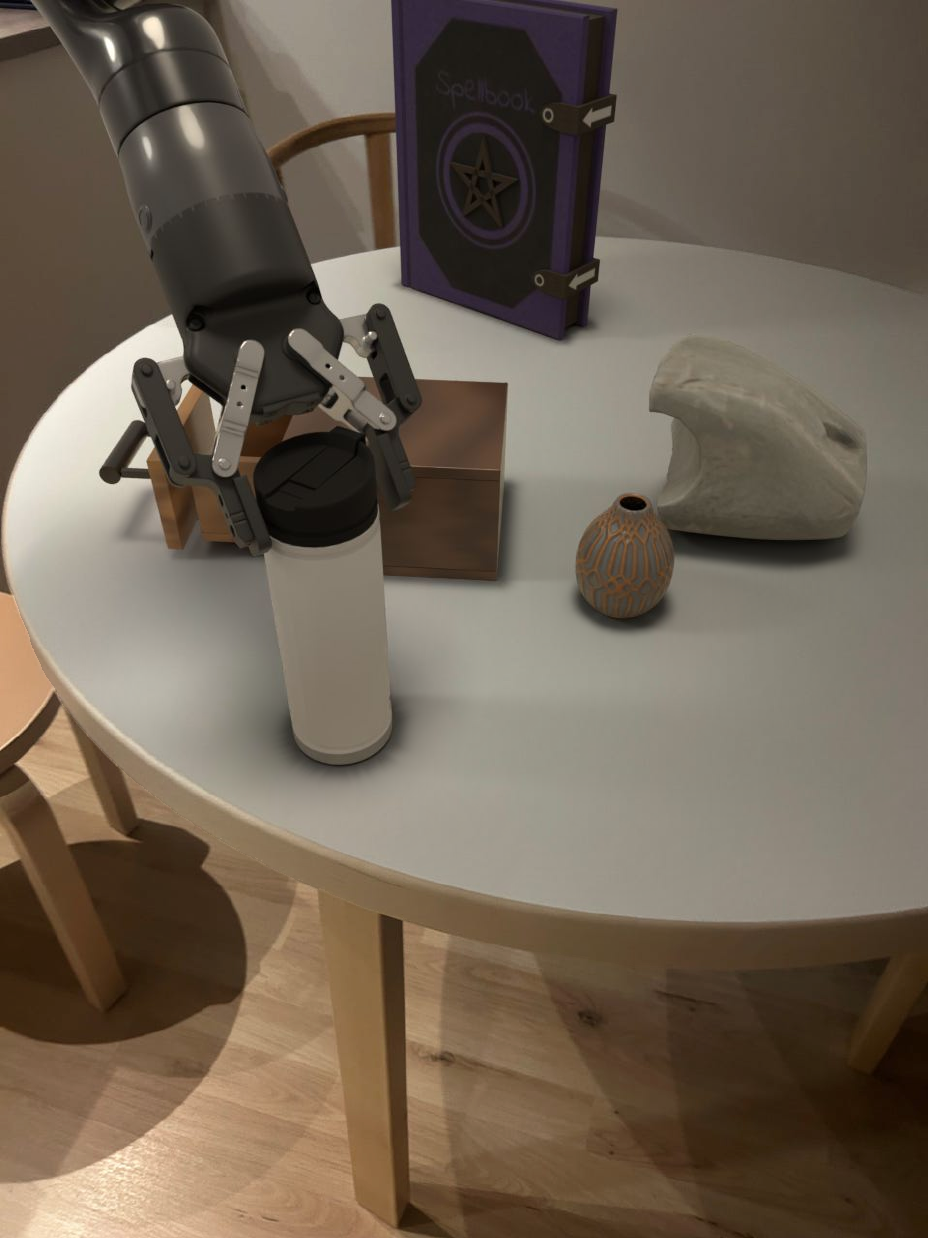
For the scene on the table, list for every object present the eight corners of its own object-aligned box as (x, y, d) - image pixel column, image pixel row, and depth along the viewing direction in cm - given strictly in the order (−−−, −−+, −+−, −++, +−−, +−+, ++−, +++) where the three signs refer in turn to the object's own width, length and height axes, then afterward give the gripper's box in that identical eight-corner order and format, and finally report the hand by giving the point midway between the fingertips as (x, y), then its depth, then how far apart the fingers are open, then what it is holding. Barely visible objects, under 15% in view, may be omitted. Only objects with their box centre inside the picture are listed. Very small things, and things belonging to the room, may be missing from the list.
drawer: (103, 545, 74) (77, 457, 68) (151, 464, 82) (131, 380, 77) (356, 559, 73) (348, 470, 67) (378, 475, 81) (372, 391, 76)
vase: (666, 637, 68) (685, 537, 62) (568, 626, 68) (578, 526, 63) (666, 577, 73) (684, 479, 67) (575, 567, 74) (585, 470, 68)
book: (399, 286, 114) (387, -13, 94) (433, 270, 118) (429, -21, 98) (560, 343, 103) (586, 17, 83) (593, 324, 106) (625, 8, 87)
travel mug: (414, 713, 62) (403, 443, 49) (355, 782, 58) (325, 506, 45) (336, 678, 64) (305, 411, 51) (273, 741, 60) (222, 468, 47)
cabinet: (289, 570, 73) (273, 459, 67) (321, 478, 83) (309, 373, 76) (496, 581, 72) (500, 470, 66) (503, 487, 82) (508, 382, 75)
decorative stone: (854, 578, 73) (917, 400, 63) (626, 554, 75) (652, 378, 65) (834, 490, 82) (887, 323, 72) (631, 471, 84) (655, 305, 74)
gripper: (329, 238, 55) (431, 506, 55) (76, 288, 50) (191, 585, 50) (364, 165, 48) (480, 470, 49) (75, 213, 43) (208, 558, 43)
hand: (333, 528), depth 49 cm, fingers open, 7 cm apart
